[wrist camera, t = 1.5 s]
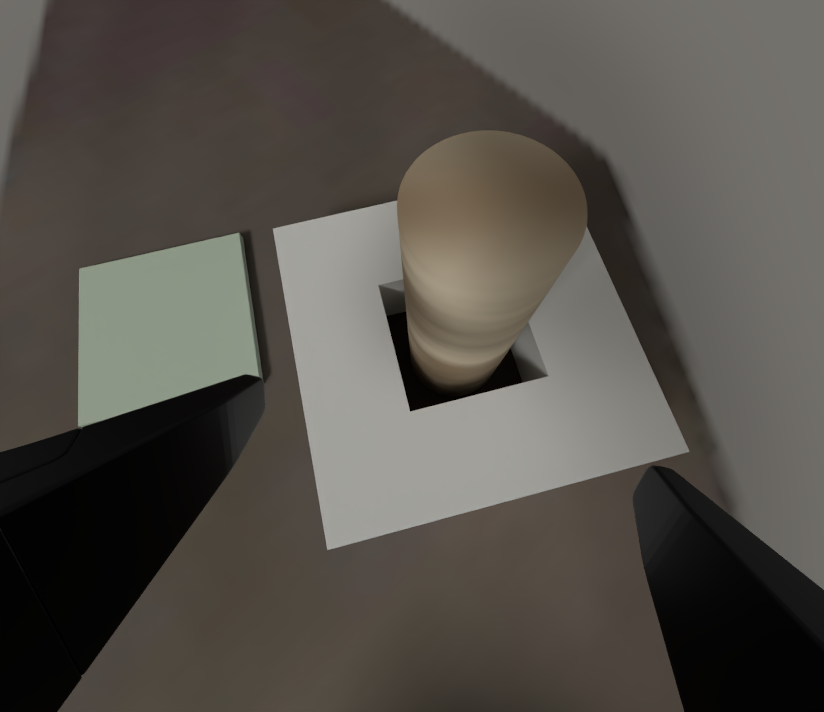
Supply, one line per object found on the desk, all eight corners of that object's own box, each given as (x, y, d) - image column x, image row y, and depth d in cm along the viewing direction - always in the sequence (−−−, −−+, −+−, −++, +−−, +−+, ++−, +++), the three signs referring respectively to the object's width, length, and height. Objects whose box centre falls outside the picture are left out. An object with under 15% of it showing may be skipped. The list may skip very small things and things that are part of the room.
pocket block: (640, 456, 21) (689, 451, 17) (345, 536, 20) (327, 549, 16) (537, 211, 26) (558, 164, 22) (295, 267, 25) (272, 228, 21)
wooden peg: (508, 384, 22) (618, 263, 10) (422, 406, 22) (423, 310, 9) (481, 305, 24) (548, 114, 11) (401, 325, 23) (378, 151, 11)
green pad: (263, 383, 22) (259, 381, 22) (87, 427, 22) (78, 426, 21) (243, 238, 25) (238, 232, 25) (86, 273, 25) (79, 268, 24)
